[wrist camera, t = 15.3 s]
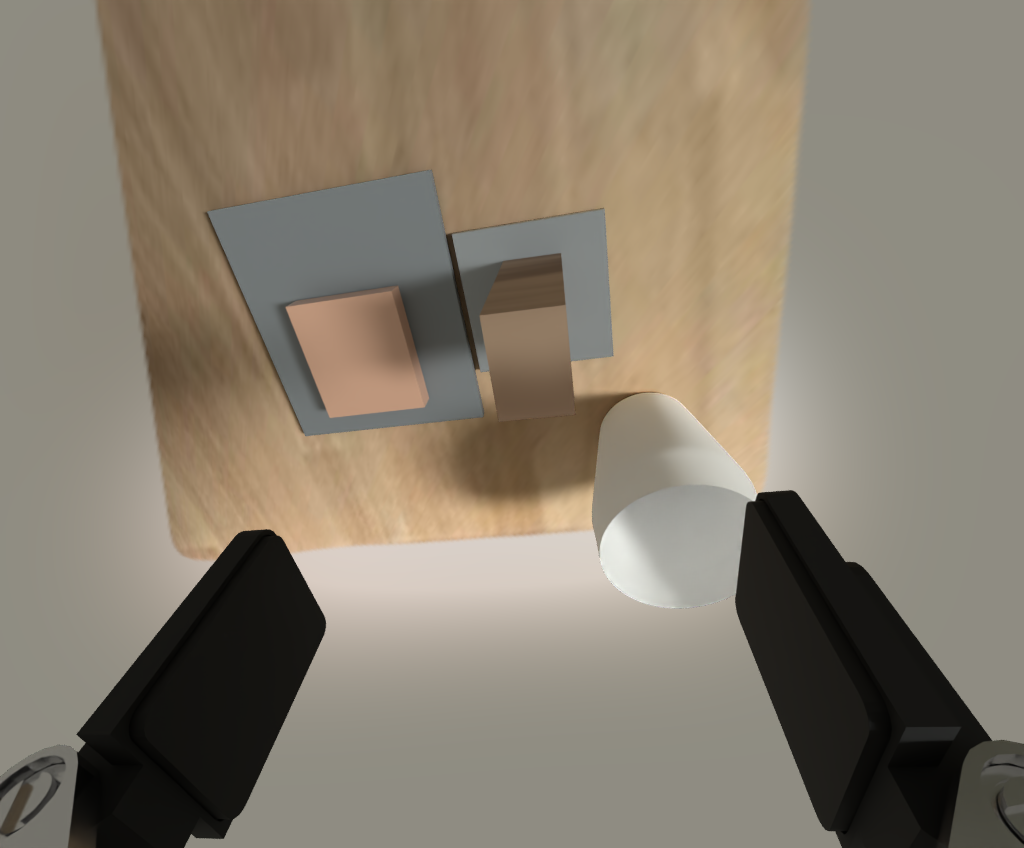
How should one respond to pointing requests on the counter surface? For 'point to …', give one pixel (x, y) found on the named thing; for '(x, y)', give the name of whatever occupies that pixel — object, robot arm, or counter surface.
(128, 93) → the counter surface
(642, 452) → the cup
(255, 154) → the counter surface
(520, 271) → the bar
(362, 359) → the tile
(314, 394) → the mat
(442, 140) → the counter surface
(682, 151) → the counter surface
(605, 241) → the coaster
